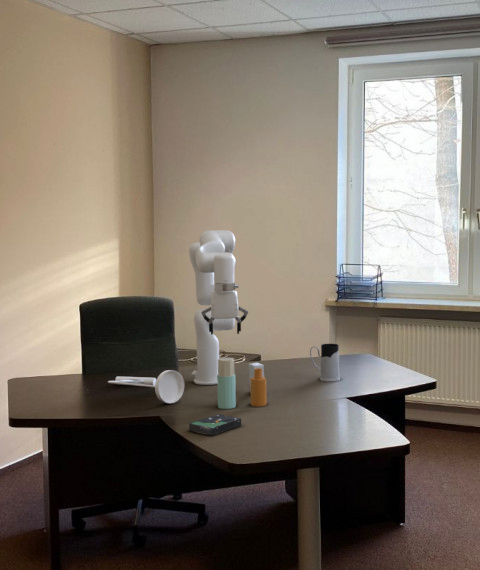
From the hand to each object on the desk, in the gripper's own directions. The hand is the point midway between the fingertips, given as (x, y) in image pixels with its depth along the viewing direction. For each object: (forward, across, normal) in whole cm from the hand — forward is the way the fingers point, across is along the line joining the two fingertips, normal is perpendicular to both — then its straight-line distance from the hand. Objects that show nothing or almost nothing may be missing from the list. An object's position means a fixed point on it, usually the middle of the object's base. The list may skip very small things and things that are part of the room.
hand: (225, 333), depth 273 cm
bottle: (+27, 0, +2) cm, 27 cm away
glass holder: (+28, -42, -42) cm, 66 cm away
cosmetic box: (+28, -12, -17) cm, 35 cm away
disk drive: (+27, +3, +30) cm, 41 cm away
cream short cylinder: (+15, 0, +2) cm, 15 cm away
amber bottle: (+27, -12, 0) cm, 30 cm away
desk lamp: (+28, +32, -25) cm, 49 cm away
